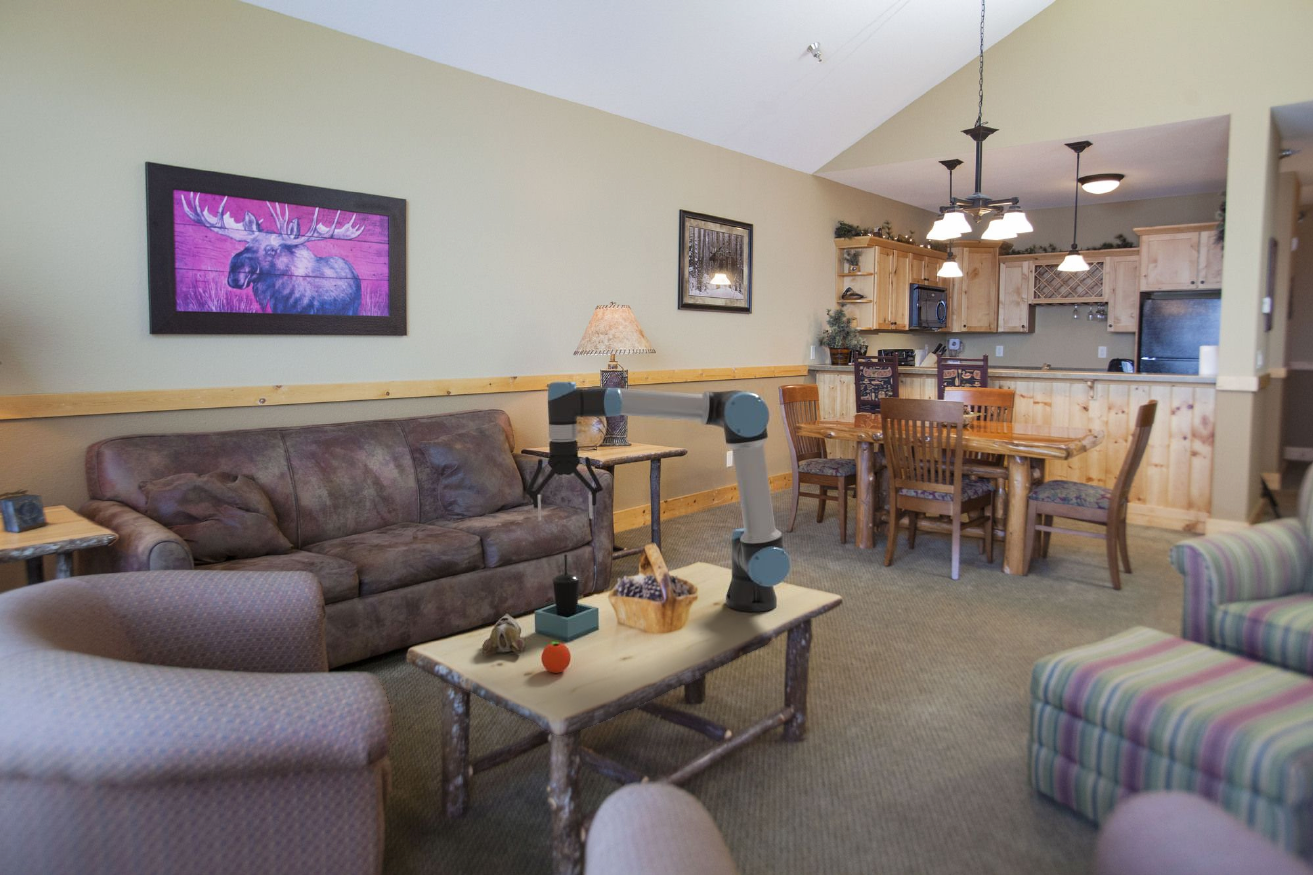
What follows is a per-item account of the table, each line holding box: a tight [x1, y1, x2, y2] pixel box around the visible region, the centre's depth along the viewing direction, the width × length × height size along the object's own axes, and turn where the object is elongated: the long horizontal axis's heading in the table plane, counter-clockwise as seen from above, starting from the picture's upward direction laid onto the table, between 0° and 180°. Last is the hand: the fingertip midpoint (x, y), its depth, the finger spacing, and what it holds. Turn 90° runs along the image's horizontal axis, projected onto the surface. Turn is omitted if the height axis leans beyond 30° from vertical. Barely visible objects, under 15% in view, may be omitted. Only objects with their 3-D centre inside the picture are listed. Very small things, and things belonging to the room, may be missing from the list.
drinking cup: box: [551, 554, 581, 618], centre depth 218 cm, size 8×8×20 cm
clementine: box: [540, 641, 572, 674], centre depth 192 cm, size 8×7×7 cm
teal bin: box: [534, 602, 600, 643], centre depth 219 cm, size 12×12×6 cm
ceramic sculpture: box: [481, 613, 526, 656], centre depth 206 cm, size 11×9×15 cm
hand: (565, 518), depth 216 cm, fingers open, 13 cm apart
